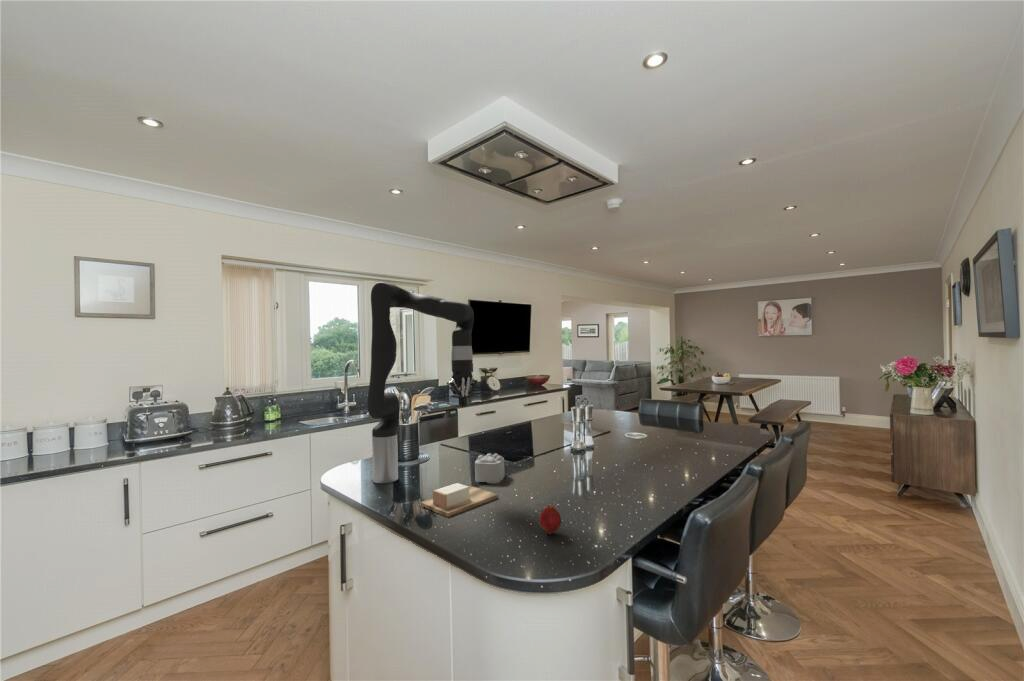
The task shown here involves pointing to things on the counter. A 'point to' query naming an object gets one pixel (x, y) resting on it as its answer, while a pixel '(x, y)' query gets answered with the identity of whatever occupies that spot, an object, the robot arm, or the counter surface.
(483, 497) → the board
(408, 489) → the counter surface
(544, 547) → the counter surface
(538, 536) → the counter surface
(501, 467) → the paw stamp
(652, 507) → the counter surface
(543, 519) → the red strawberry
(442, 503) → the block
